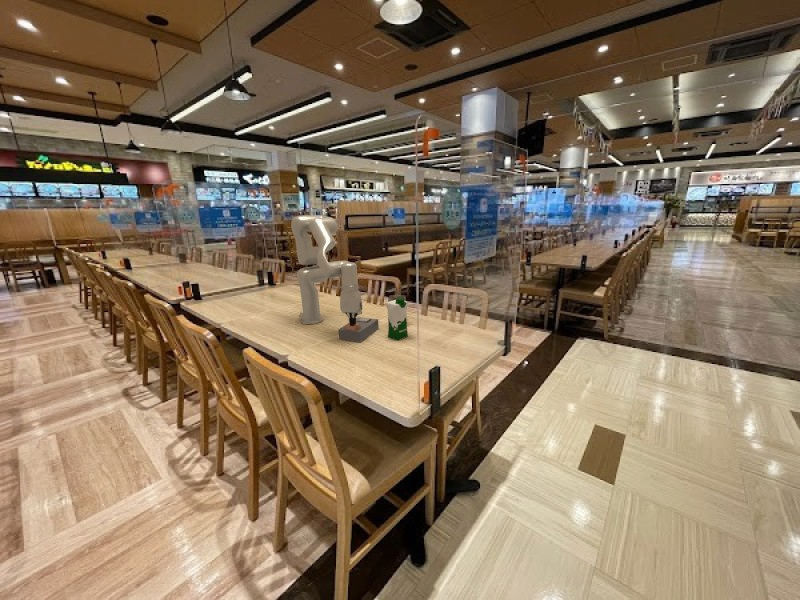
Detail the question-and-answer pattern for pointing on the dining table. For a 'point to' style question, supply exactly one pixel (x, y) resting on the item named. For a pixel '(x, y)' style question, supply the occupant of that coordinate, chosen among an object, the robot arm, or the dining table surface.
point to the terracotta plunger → (352, 327)
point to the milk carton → (397, 318)
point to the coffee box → (392, 297)
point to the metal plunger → (364, 320)
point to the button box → (359, 331)
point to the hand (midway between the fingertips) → (352, 325)
